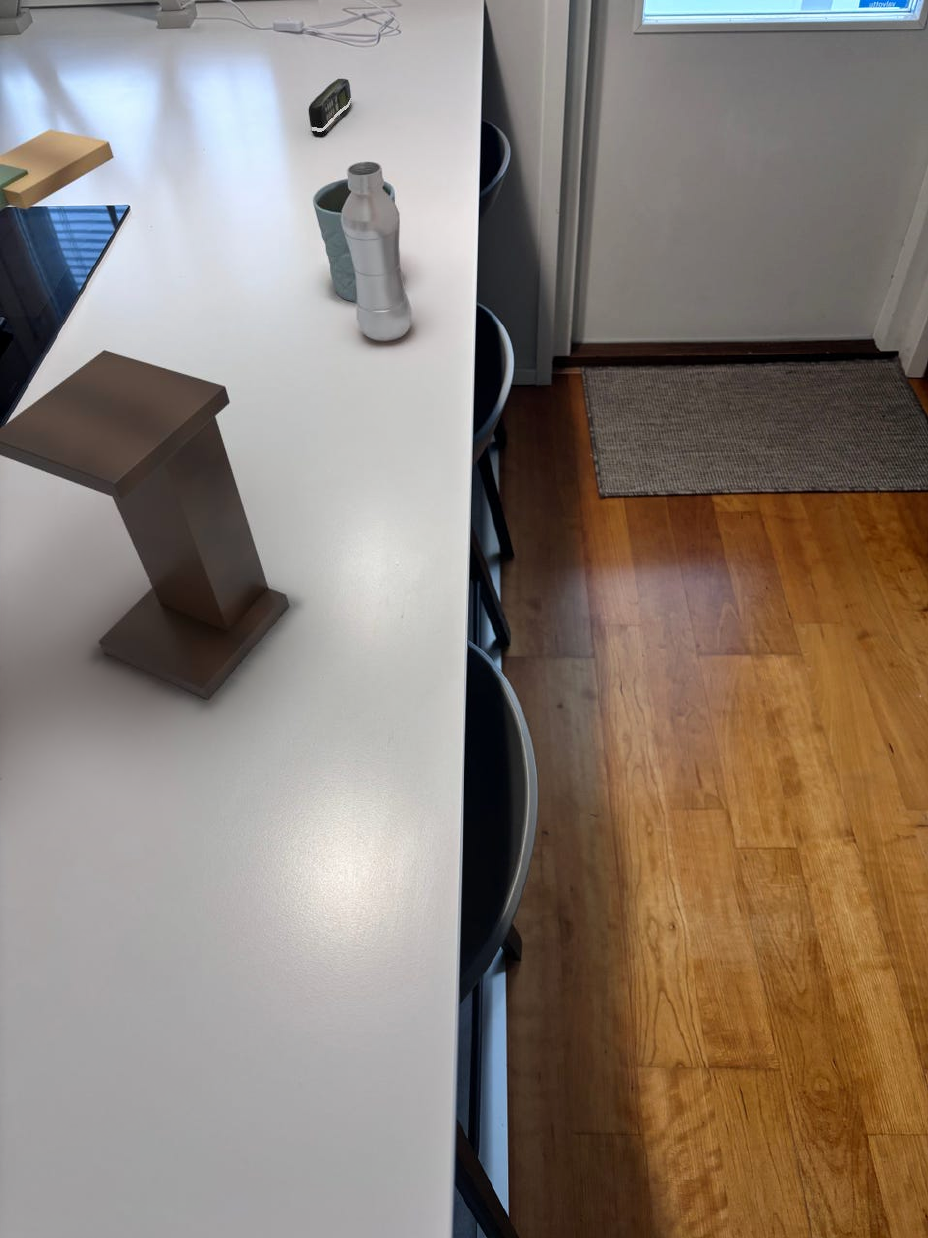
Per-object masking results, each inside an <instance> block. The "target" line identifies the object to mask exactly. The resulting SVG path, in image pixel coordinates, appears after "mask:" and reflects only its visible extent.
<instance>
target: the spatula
mask: <svg viewBox="0 0 928 1238" xmlns="http://www.w3.org/2000/svg"><path fill="white" fill-rule="evenodd" d="M114 158H115V157H114V154H113V150H112V146H111V144H110V142H109V140H104V139H99V138H95V137H91V136H90V137H89V136H84V135H80V134H74V133H70V132H65V131H60V130H55V129H51V128H50V129H48V130H46V131H44V132H42V133H41V134H39V135H37V136H35V137H33V138H31V139H29V140H27V141H26V142H23V143H22V144H20V145H18V146H16V147H14V148H12V149H10V150H9V151H7V152H5V153H3V154H1V155H0V211H2V210H4V209H6V208H8V207H9V206H11V207H15V208H19V209H22V210H28V209H29V208H31V207H33V206H35V205H37V204H38V203H40V202H41V201H43V200H44V199H46V198H48V197H50V196H51V195H53V194H55V193H57V192H58V191H60V190H61V189H63V188H65V187H66V186H68V185H70V184H72V183H73V182H75V181H77V180H78V179H80V178H82V177H84V176H85V175H87V174H89V173H91V172H92V171H94V170H95V169H98V168H99V167H101V166H102V165H104V164H105V163H107V162H109V161H110V160H112V159H114Z"/></svg>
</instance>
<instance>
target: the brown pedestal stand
mask: <svg viewBox="0 0 928 1238" xmlns="http://www.w3.org/2000/svg"><path fill="white" fill-rule="evenodd" d="M230 403H231V400H230V398H229V394H228V391H227V387H226V386H225V385H222V384H219V383H215V382H212V381H208V380H206V379H202V378H199V377H195V376H192V375H189V374H185V373H182V372H179V371H176V370H172V369H168V368H165V367H162V366H159V365H155V364H152V363H149V362H146V361H142V360H139V359H136V358H132V357H129V356H125V355H122V354H119V353H116V352H112V351H108V350H105V349H104V350H102V351H101V352H100V353H98V354H96V356H94V357H93V358H91V359H90V360H89V361H88V362H86V363H85V364H84V365H82V366H81V367H80V368H78V369H76V371H75V372H73V373H71V374H70V375H69V376H68V377H66V378H65V379H64V380H62V381H61V382H60V383H58V384H57V385H56V386H54V387H53V388H52V389H50V390H49V391H48V392H47V393H45V394H43V396H41V397H40V398H39V399H37V400H36V401H34V402H33V403H32V404H30V405H29V406H28V407H26V408H25V409H23V411H21V412H20V413H19V414H17V415H16V416H15V417H13V418H12V419H10V421H9V420H8V422H7V423H6V424H4V425H3V426H1V427H0V456H1V457H4V458H7V459H9V460H12V461H16V462H17V463H20V464H23V465H25V466H29V467H32V468H34V469H37V470H39V471H42V472H44V473H47V474H49V475H53V476H56V477H58V478H61V479H63V480H66V481H69V482H72V483H74V484H77V485H80V486H82V487H85V488H88V489H89V490H93V491H96V492H97V493H102V494H103V495H107V496H109V497H112V499H113V501H114V504H115V506H116V509H117V510H118V513H119V515H120V517H121V520H122V522H123V524H124V526H125V528H126V531H127V533H128V536H129V538H130V540H131V543H132V545H133V547H134V550H135V551H136V553H137V556H138V558H139V560H140V562H141V565H142V567H143V569H144V571H145V575H146V576H147V578H148V581H149V583H150V585H151V588H150V589H149V590H148V591H147V592H146V593H145V594H144V595H143V596H141V598H140V599H139V600H138V601H137V602H136V603H134V605H133V606H132V607H131V608H130V609H129V610H128V611H127V612H126V613H125V614H124V615H123V616H122V617H121V618H120V619H119V620H118V621H117V622H116V623H115V624H114V625H113V626H112V627H111V628H110V629H109V630H108V631H107V632H105V634H104V635H103V636H102V637H101V638H100V639H99V640H98V642H97V643H98V645H99V646H100V648H101V650H102V652H103V653H104V654H106V655H108V656H111V657H113V658H115V659H117V660H119V661H122V662H124V663H126V664H129V665H130V666H133V667H135V668H137V669H139V670H142V671H144V672H147V673H149V674H150V675H152V676H156V677H158V678H159V679H161V680H164V681H166V682H167V683H171V684H173V685H175V686H177V687H179V688H181V689H184V690H186V691H188V692H191V693H192V694H195V695H197V696H199V697H201V698H204V699H206V700H209V699H210V698H211V697H212V696H213V695H214V693H215V692H216V691H217V690H218V689H219V688H220V687H221V685H222V684H223V683H224V682H225V681H226V679H227V678H229V676H230V675H231V674H232V672H234V670H235V669H236V668H237V667H238V665H240V663H242V661H243V660H244V659H245V658H246V656H247V655H248V654H249V653H250V652H251V651H252V650H253V648H254V647H255V646H256V645H257V644H258V642H259V641H260V640H261V639H262V638H263V637H264V635H265V634H266V633H267V632H268V631H269V630H270V629H271V627H272V626H273V625H274V624H275V623H276V621H277V620H278V619H279V618H280V617H281V616H282V615H283V614H284V613H285V611H286V610H287V609H288V608H289V607H290V603H289V599H288V595H287V594H286V593H283V592H280V591H279V590H276V589H273V588H270V587H269V585H268V582H267V579H266V576H265V575H266V574H265V572H264V568H263V565H262V562H261V559H260V556H259V552H258V550H257V546H256V543H255V539H254V537H253V533H252V530H251V527H250V523H249V521H248V518H247V513H246V511H245V510H246V509H245V508H244V504H243V500H242V498H241V494H240V491H239V489H238V484H237V481H236V478H235V475H234V472H233V468H232V465H231V463H230V459H229V456H228V452H227V449H226V446H225V443H224V439H223V436H222V433H221V430H220V426H219V424H218V420H217V417H216V416H217V415H218V414H219V413H220V412H221V411H223V410H224V409H226V407H227V406H228V405H229V404H230Z"/></svg>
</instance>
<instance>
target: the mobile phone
mask: <svg viewBox="0 0 928 1238" xmlns="http://www.w3.org/2000/svg"><path fill="white" fill-rule="evenodd" d="M350 98H351V99H352V92H351V84H350V81H349V80H348V79H347V78H337V79H336V80H334V81H333V82H332V83H330V84H329V85H328V86H327V87H326V88H325V89H323V91H322V92H320V94H318V95H317V96H316V97H315V98H314V99H313V100H312V102H311V103H310V104H309V106H308V118H309V119H308V120H309V124H310V127H311V126H312V127H317V128H323V127H324V126H325V125H326V124H327V123H328V121H329V120H330V119H331V118H333V117H334V115H335V114H336V113H337V112H338V111H339V110H340V109H342V108H343V107H344V106H346V105H347V104H348V102H349V100H350ZM351 105H352V102H351V103H350V105H349V107H348V108H347V109H346V110H344V111H343V112H342V113H341V114H340V115H338V116H337V117H336V118H335V119H334V121H333V122H332V123H331V124H330V125H329V126H328V127H327V128H326V129H325V130H324V131H322V132H317V131H312V130H311V133H312V134H313V136H317V137H323V136H325V135H327V133H329V131H331V129H332V128H333V127H334V126H335V125H336V124H337V123H338V122H339V121H340V120H342V118H344V116H346V115H347V113H348V111H349V110H350V107H351Z"/></svg>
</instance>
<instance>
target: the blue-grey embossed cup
mask: <svg viewBox="0 0 928 1238" xmlns="http://www.w3.org/2000/svg"><path fill="white" fill-rule="evenodd" d="M382 189H383V190H384V191H385V192H386V193H387V194H388V195H389V196H390V198H391V199H392V200H393V202H394V203H395V204H396V195H395V194H396V193H395V189H394V187H393V185H392V184H390V183H389V182H387V181H385V180H384V186H383V187H382ZM350 193H351V190H349V188H348V178H344V179H340V180H336V181H333V182H330V183H328V184H326V185H324V186H322V187H321V188H320V189H319V190H317V191H316V192H315V194H314V195H313V198H312V204H313V208H314V212H315V215H316V219H317V223H318V227H319V229H320V235H321V238H322V240H323V243H324V245H325V246H324V247H325V253H326V256H327V257H328V258H327V260H328V263H329V269H330V270H329V271H330V275H331V279H332V283H333V287H334V290H335V293H336V294H337V296H338V297H340V298H342V299H344V300H346V301H349V302H352V303H357V288H356V276H355V271H354V265H353V262H352V257H351V253H350V249H349V246H348V243H347V240H346V237H345V234H344V230H343V227H342V223H341V213H342V209H343V207H344V204H345V202H346V200H347V198H348V197H349V195H350Z"/></svg>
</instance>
